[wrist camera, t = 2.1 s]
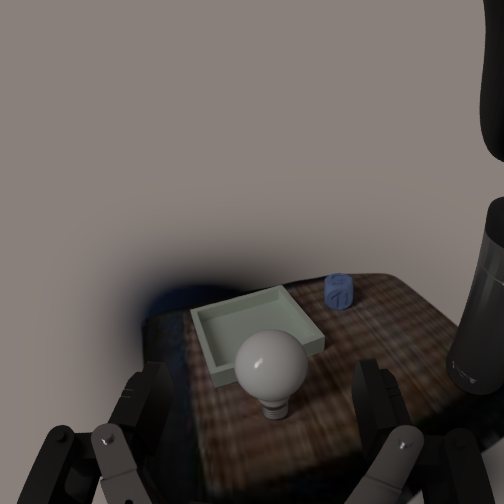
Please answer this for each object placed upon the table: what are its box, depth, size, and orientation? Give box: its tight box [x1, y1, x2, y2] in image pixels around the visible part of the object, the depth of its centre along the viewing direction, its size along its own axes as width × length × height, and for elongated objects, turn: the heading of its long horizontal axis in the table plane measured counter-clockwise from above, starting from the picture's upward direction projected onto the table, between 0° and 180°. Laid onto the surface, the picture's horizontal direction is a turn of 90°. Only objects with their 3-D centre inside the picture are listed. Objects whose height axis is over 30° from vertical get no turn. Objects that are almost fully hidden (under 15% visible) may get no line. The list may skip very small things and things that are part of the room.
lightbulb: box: [234, 329, 308, 420], centre depth 26 cm, size 6×6×11 cm
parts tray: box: [191, 285, 325, 388], centre depth 39 cm, size 14×13×2 cm
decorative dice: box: [325, 273, 353, 310], centre depth 44 cm, size 4×4×4 cm
